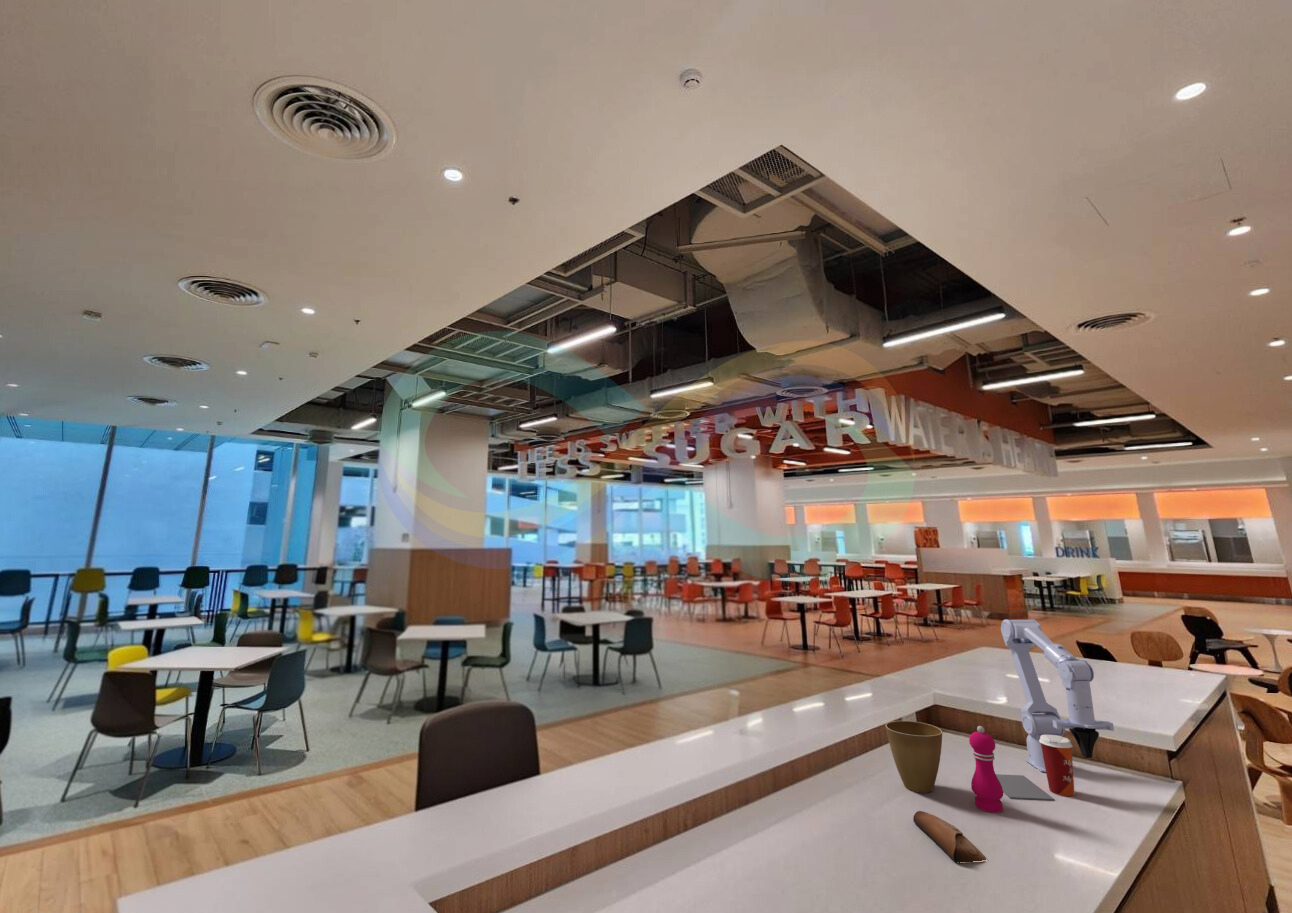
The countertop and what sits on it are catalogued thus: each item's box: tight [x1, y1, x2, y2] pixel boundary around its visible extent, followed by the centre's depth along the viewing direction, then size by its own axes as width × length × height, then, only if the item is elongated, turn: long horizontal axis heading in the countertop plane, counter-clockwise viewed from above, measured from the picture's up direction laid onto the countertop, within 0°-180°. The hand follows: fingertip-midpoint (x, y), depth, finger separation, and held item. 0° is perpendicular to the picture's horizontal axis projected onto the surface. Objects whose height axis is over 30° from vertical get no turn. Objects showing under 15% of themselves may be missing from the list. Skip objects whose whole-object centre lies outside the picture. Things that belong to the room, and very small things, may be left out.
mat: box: [995, 773, 1056, 802], centre depth 157 cm, size 16×11×1 cm
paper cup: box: [1039, 735, 1075, 797], centre depth 155 cm, size 8×8×14 cm
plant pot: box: [885, 720, 943, 794], centre depth 160 cm, size 15×15×16 cm
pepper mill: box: [968, 725, 1004, 814], centre depth 147 cm, size 7×7×20 cm
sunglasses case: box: [912, 810, 988, 864], centre depth 129 cm, size 18×7×7 cm
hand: (1087, 756), depth 155 cm, fingers closed
